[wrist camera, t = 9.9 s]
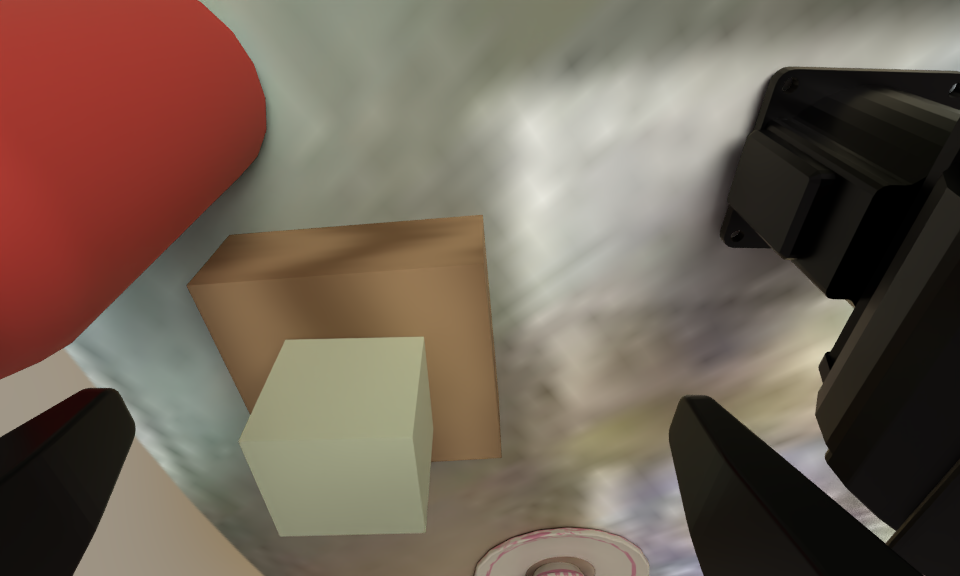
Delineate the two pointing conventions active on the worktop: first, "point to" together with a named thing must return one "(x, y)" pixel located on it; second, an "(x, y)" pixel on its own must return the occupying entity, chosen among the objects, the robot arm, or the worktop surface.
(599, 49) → the worktop surface
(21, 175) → the beer can
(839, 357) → the robot arm
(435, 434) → the walnut block
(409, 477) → the sage block
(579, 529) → the teacup
